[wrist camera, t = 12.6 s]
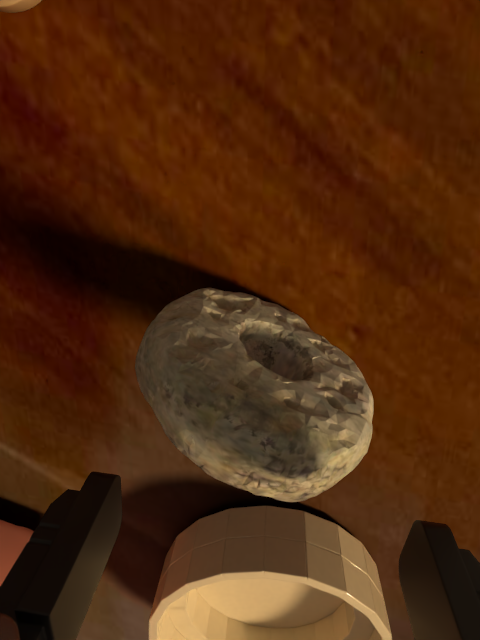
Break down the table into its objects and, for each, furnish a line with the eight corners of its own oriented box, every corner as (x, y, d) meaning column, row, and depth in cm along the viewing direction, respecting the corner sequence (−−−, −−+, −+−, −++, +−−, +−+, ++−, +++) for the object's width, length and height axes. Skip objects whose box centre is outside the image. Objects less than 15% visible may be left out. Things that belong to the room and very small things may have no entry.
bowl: (401, 516, 27) (425, 595, 22) (350, 646, 33) (361, 727, 29) (170, 483, 27) (148, 554, 23) (165, 617, 34) (147, 693, 30)
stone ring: (364, 344, 22) (424, 499, 13) (327, 392, 23) (356, 560, 14) (192, 251, 20) (123, 351, 11) (164, 308, 22) (83, 436, 13)
